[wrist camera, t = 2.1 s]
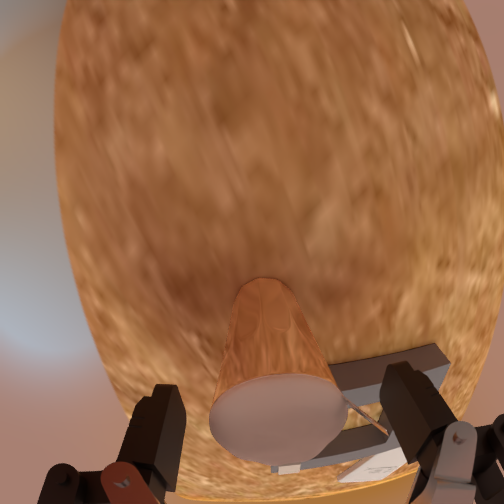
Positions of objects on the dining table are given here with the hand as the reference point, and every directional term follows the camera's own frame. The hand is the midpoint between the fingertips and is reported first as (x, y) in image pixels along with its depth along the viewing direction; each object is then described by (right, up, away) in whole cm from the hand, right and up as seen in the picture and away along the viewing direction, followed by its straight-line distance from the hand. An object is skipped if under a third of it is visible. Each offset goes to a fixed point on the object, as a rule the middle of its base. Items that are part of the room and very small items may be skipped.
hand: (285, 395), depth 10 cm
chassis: (+6, -7, +10) cm, 14 cm away
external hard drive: (+15, -18, +15) cm, 27 cm away
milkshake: (0, +3, +6) cm, 7 cm away
